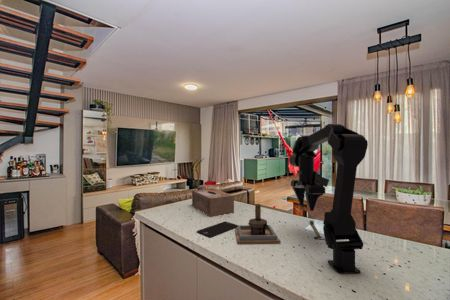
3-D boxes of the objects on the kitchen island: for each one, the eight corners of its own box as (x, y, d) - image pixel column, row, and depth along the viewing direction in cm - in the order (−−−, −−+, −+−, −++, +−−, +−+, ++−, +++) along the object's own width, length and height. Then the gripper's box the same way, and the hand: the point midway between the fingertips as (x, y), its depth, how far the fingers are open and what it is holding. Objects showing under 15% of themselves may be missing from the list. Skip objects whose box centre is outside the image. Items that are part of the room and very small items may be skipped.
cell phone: (196, 233, 93) (196, 231, 93) (225, 223, 106) (225, 221, 106) (210, 239, 87) (210, 236, 87) (239, 227, 100) (239, 225, 100)
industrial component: (270, 233, 89) (270, 204, 89) (262, 239, 83) (262, 207, 83) (250, 228, 95) (250, 200, 95) (241, 233, 89) (241, 204, 89)
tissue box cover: (192, 206, 137) (192, 190, 136) (212, 203, 144) (212, 188, 144) (210, 217, 114) (210, 198, 114) (233, 213, 121) (233, 195, 121)
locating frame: (277, 240, 83) (277, 236, 83) (240, 240, 82) (240, 236, 82) (269, 228, 95) (269, 225, 95) (237, 228, 94) (237, 225, 94)
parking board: (280, 243, 82) (280, 241, 82) (237, 244, 81) (237, 241, 81) (271, 229, 96) (271, 227, 96) (234, 230, 95) (234, 228, 95)
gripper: (339, 170, 79) (339, 213, 79) (314, 166, 97) (315, 201, 97) (309, 170, 78) (309, 214, 78) (290, 166, 97) (290, 202, 96)
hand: (306, 207), depth 87 cm, fingers open, 9 cm apart
